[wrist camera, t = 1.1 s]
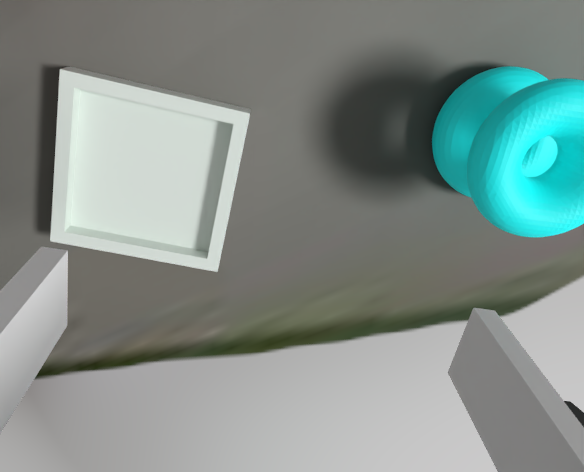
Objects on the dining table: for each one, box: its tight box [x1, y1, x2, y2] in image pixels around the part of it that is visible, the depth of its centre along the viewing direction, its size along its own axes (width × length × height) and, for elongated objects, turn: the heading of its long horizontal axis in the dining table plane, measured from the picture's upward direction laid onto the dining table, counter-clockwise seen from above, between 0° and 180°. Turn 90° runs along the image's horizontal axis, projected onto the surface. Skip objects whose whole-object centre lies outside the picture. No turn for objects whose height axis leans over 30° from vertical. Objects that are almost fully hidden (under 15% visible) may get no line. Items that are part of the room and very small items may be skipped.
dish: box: [50, 66, 251, 272], centre depth 38 cm, size 13×13×2 cm
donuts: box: [432, 66, 584, 237], centre depth 34 cm, size 10×10×10 cm
